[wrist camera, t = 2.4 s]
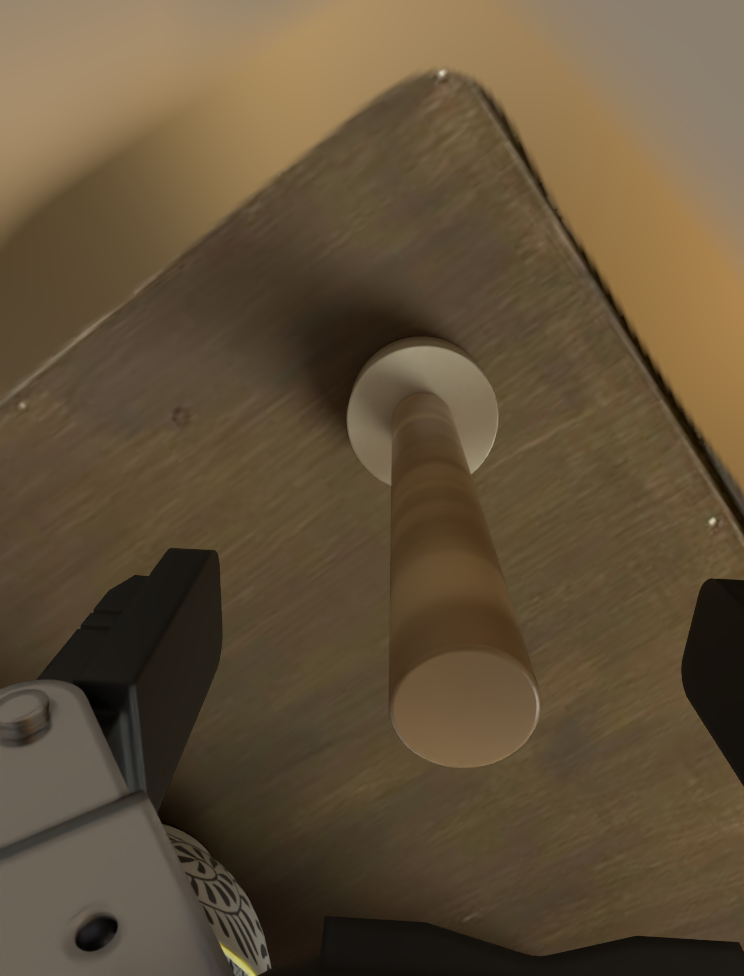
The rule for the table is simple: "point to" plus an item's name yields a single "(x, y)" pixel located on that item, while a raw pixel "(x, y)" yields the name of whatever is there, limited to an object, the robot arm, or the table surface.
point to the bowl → (223, 906)
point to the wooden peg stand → (443, 556)
